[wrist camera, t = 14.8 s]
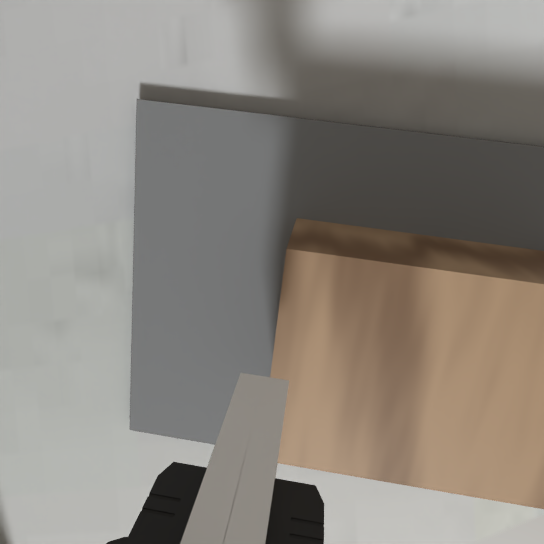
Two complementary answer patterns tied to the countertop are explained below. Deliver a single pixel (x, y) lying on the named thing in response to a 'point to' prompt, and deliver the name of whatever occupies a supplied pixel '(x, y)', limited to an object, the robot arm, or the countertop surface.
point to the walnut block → (413, 360)
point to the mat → (281, 233)
